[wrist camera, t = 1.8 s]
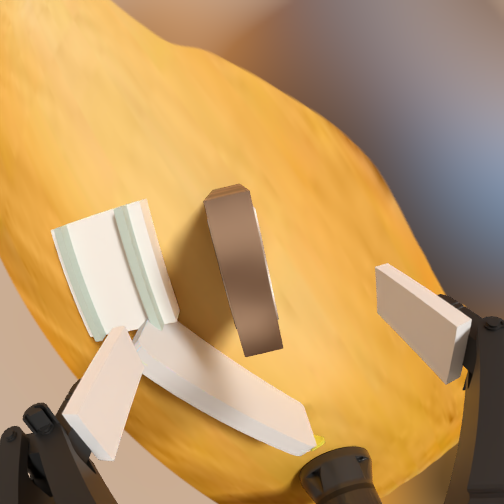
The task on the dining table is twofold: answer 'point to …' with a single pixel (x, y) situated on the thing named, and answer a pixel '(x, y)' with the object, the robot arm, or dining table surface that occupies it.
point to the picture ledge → (116, 270)
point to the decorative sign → (223, 388)
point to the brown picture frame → (244, 268)
